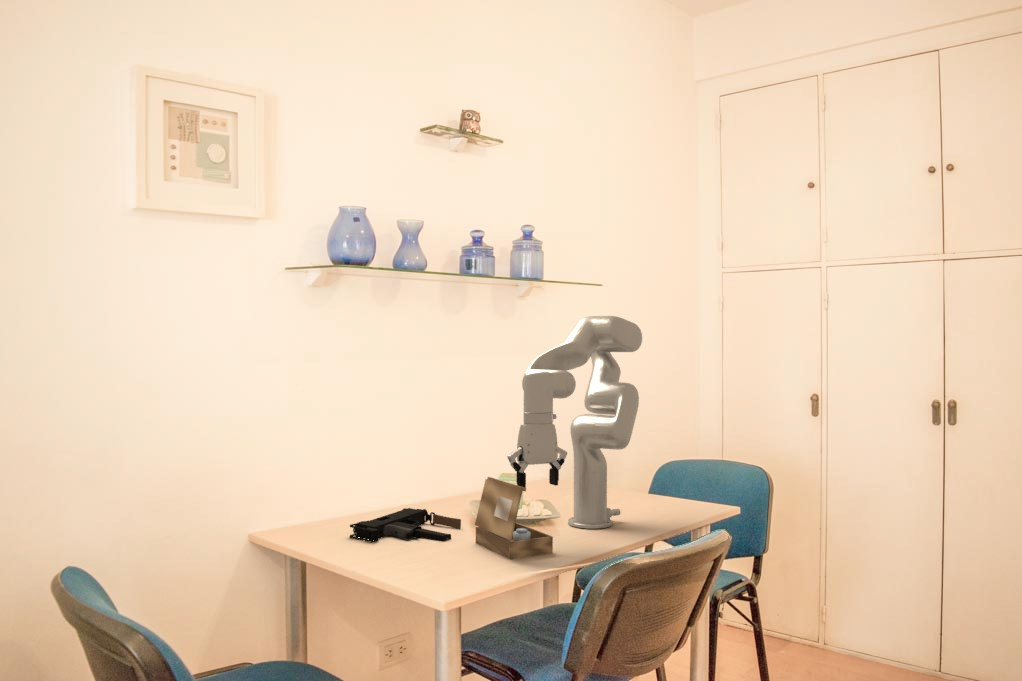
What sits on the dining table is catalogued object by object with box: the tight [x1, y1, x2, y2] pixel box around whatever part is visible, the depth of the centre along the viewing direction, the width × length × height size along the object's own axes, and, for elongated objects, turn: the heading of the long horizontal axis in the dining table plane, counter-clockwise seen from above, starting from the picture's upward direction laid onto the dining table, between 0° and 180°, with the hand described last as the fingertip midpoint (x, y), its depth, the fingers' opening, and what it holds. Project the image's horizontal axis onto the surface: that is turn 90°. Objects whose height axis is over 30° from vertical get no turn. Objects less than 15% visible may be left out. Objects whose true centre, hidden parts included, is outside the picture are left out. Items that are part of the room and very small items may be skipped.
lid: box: [474, 476, 527, 540], centre depth 196 cm, size 13×18×2 cm
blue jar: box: [513, 528, 531, 541], centre depth 199 cm, size 4×4×4 cm
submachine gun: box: [348, 507, 462, 543], centre depth 215 cm, size 4×29×25 cm
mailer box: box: [475, 521, 554, 560], centre depth 197 cm, size 12×18×4 cm, turn 30°
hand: (537, 486), depth 201 cm, fingers open, 9 cm apart
